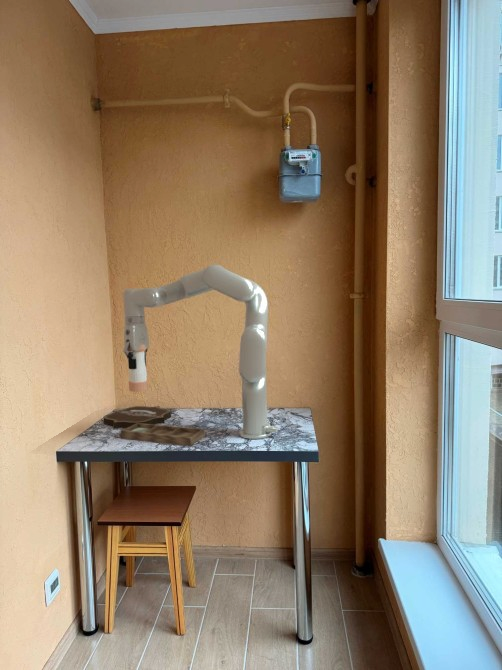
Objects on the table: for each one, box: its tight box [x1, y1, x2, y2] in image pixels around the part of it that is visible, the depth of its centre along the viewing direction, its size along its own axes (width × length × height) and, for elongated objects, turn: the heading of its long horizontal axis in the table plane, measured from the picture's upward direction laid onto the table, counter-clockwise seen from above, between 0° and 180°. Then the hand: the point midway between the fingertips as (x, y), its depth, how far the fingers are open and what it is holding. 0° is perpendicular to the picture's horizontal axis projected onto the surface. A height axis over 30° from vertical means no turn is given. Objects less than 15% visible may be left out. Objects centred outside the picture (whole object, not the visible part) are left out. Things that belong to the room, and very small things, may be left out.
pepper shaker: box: [128, 344, 149, 393], centre depth 180 cm, size 7×7×19 cm
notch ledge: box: [119, 423, 206, 447], centre depth 179 cm, size 31×11×3 cm, turn 68°
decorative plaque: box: [103, 405, 172, 430], centre depth 206 cm, size 30×3×30 cm
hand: (137, 367), depth 180 cm, fingers closed on pepper shaker, 5 cm apart
